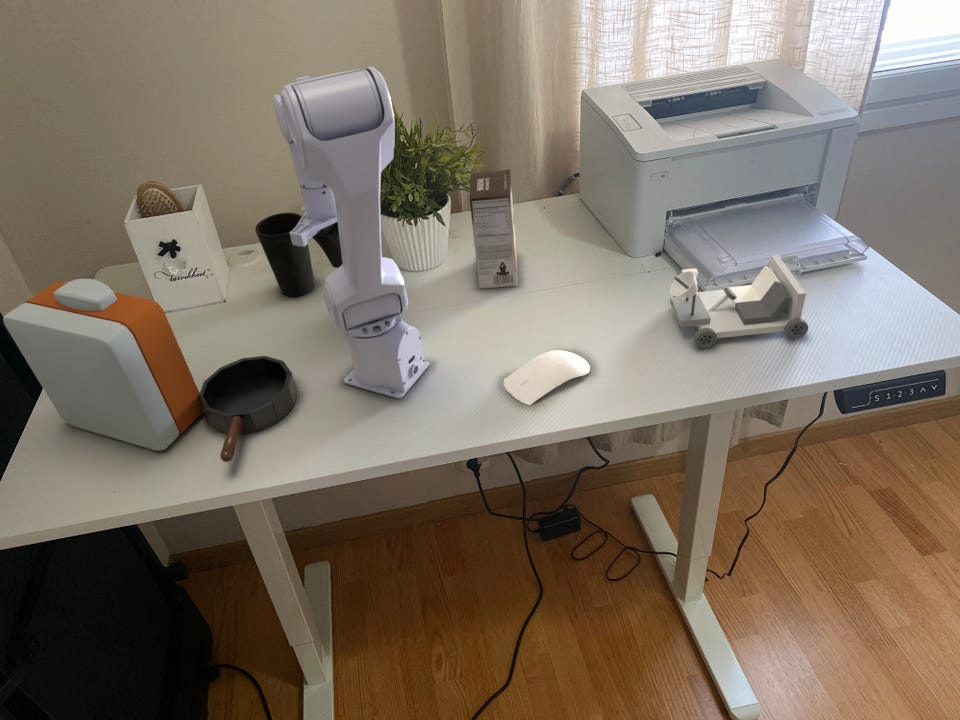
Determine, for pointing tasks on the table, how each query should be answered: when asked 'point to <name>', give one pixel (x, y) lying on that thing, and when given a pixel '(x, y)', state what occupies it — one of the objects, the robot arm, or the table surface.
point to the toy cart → (741, 305)
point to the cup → (286, 254)
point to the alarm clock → (107, 362)
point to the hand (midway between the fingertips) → (340, 265)
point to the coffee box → (493, 228)
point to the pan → (247, 398)
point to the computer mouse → (544, 375)
